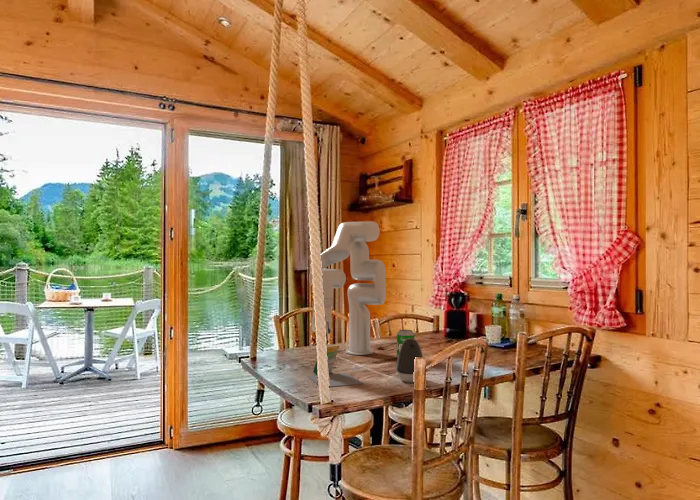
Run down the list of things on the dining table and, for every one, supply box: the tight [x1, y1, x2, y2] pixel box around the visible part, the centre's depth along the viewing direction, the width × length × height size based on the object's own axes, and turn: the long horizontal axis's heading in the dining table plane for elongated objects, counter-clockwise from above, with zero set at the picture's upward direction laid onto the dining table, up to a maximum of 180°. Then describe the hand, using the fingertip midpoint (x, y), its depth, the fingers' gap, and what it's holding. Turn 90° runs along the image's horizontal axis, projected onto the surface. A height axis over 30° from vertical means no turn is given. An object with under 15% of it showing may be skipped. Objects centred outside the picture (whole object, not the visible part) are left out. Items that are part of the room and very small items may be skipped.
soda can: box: [396, 329, 415, 357], centre depth 214 cm, size 8×8×12 cm
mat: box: [307, 372, 364, 388], centre depth 175 cm, size 16×15×1 cm
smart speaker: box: [395, 338, 424, 384], centre depth 176 cm, size 10×10×15 cm
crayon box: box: [312, 345, 340, 375], centre depth 184 cm, size 7×3×12 cm, turn 136°
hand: (322, 351), depth 185 cm, fingers closed
